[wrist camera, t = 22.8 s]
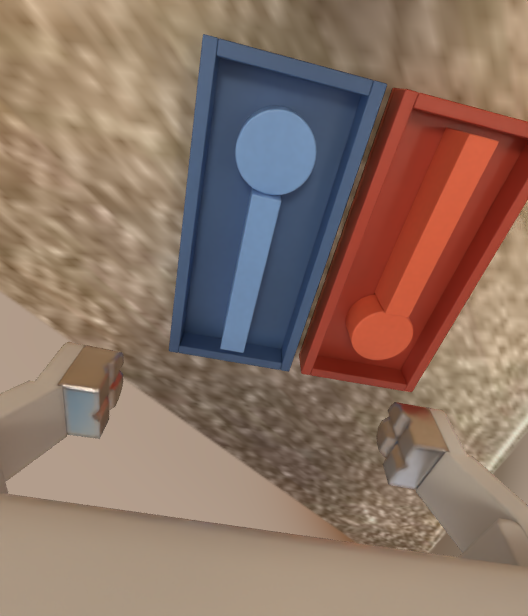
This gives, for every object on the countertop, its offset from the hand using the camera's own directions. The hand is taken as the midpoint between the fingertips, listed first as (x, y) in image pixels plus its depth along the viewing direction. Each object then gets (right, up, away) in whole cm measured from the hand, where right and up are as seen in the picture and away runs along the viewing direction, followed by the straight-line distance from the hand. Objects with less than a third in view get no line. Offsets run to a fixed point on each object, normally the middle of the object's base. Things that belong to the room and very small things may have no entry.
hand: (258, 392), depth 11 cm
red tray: (+8, +5, +11) cm, 14 cm away
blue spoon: (0, +7, +9) cm, 11 cm away
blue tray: (0, +7, +10) cm, 12 cm away
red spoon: (+8, +5, +10) cm, 14 cm away
